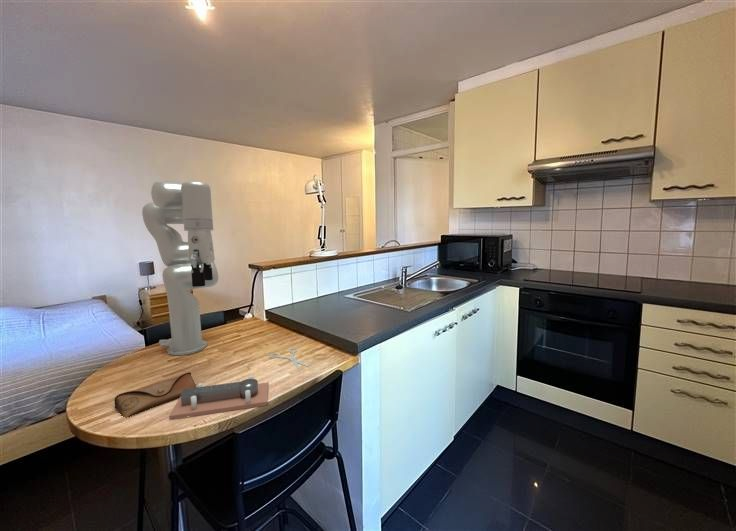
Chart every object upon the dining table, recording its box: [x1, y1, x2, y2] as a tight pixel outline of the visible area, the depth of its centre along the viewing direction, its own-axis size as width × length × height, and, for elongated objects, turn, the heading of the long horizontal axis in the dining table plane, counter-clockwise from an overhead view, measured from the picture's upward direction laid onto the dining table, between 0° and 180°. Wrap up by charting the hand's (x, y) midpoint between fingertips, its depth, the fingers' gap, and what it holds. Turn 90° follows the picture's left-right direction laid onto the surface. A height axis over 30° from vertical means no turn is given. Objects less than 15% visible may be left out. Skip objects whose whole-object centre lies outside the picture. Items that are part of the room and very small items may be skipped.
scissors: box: [264, 347, 313, 372], centre depth 105 cm, size 11×1×20 cm
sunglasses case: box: [113, 372, 197, 419], centre depth 82 cm, size 18×7×7 cm, turn 138°
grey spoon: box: [181, 378, 259, 406], centre depth 80 cm, size 18×5×3 cm, turn 106°
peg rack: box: [168, 374, 269, 420], centre depth 81 cm, size 22×10×4 cm, turn 105°
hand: (203, 283), depth 93 cm, fingers open, 9 cm apart
